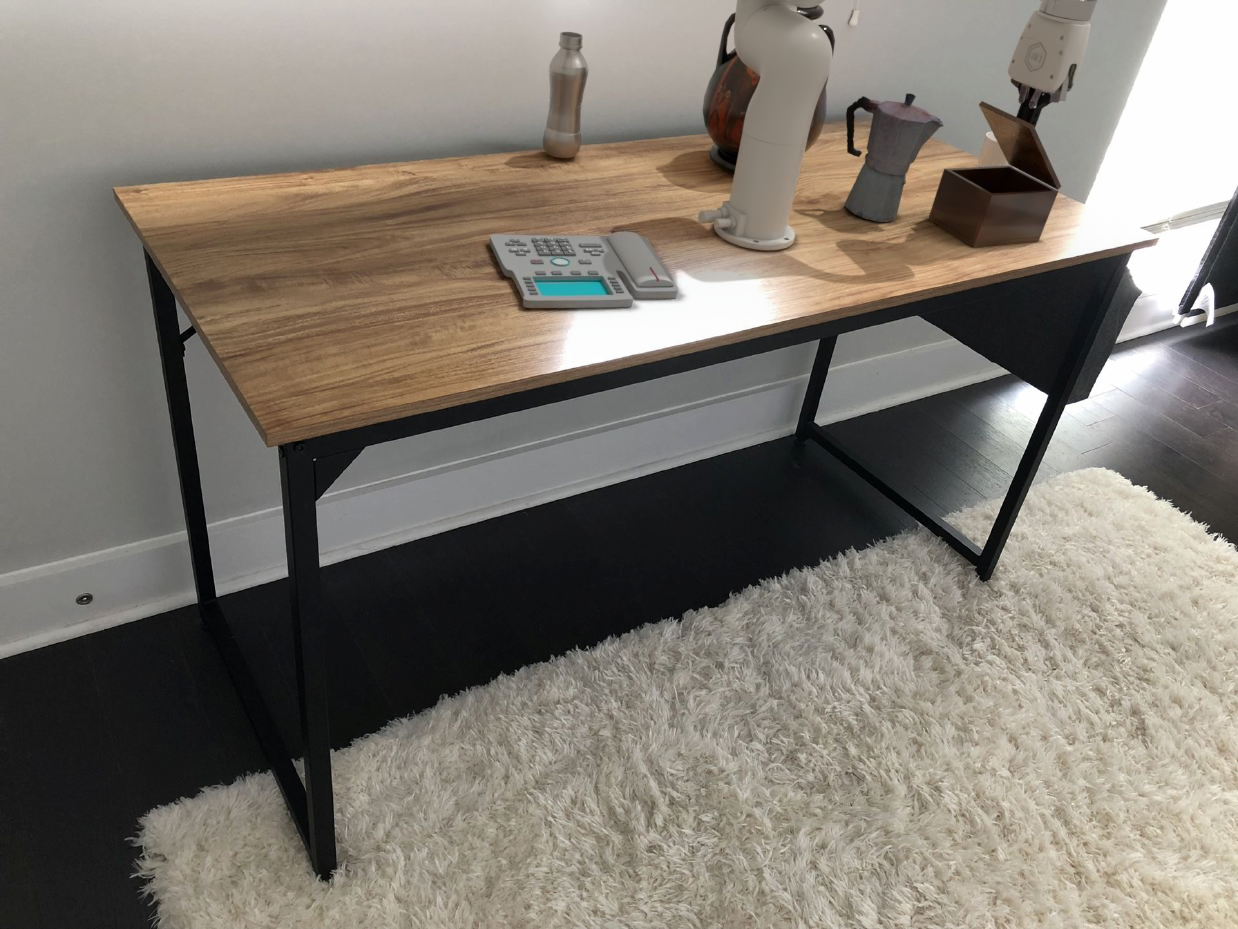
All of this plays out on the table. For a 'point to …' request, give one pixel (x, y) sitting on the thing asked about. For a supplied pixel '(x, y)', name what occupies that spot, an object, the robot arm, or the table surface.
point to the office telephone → (583, 269)
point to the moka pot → (886, 154)
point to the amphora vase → (745, 98)
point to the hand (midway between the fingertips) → (1022, 130)
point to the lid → (1020, 144)
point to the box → (992, 205)
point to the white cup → (991, 153)
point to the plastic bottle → (566, 97)
